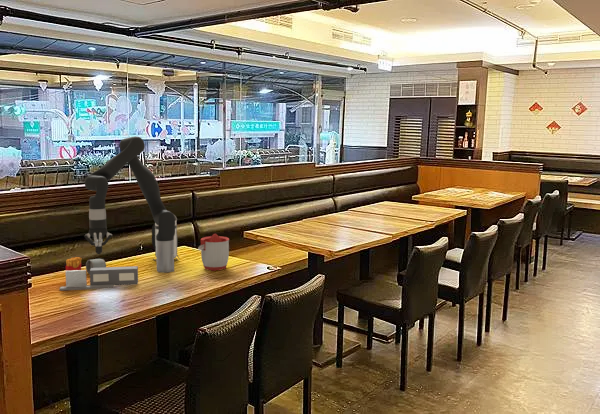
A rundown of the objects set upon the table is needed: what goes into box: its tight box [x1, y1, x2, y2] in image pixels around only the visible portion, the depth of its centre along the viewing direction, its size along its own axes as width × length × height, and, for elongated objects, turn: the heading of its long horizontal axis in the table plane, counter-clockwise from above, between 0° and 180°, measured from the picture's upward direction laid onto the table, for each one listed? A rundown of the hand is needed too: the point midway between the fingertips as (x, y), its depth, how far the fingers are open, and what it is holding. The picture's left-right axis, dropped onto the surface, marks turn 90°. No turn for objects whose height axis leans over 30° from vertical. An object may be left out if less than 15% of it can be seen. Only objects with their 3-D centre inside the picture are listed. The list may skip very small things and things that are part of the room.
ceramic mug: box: [85, 258, 107, 275], centre depth 285 cm, size 11×8×8 cm
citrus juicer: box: [197, 233, 230, 272], centre depth 296 cm, size 16×17×20 cm
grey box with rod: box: [59, 265, 139, 292], centre depth 261 cm, size 35×10×8 cm, turn 103°
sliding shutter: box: [65, 269, 88, 287], centre depth 255 cm, size 9×1×8 cm, turn 103°
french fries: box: [65, 256, 82, 271], centre depth 268 cm, size 8×4×12 cm, turn 152°
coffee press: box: [151, 214, 180, 261], centre depth 314 cm, size 17×16×30 cm
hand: (99, 253), depth 256 cm, fingers closed
